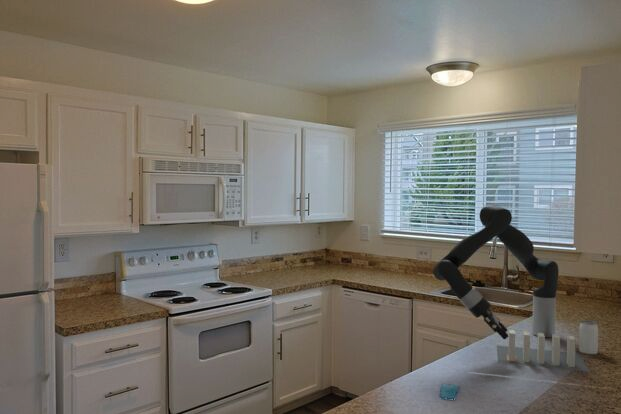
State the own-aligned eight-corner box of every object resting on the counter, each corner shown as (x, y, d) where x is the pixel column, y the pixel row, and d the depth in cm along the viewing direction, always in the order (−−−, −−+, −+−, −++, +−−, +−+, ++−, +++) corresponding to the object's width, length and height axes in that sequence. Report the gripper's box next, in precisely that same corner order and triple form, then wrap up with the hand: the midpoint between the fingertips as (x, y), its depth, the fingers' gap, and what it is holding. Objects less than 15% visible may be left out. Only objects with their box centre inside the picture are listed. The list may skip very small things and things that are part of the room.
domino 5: (566, 362, 191) (567, 335, 190) (572, 362, 190) (573, 335, 190) (568, 366, 186) (569, 338, 186) (574, 367, 185) (575, 339, 185)
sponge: (434, 396, 158) (454, 397, 155) (441, 383, 169) (459, 384, 166) (435, 401, 158) (454, 402, 155) (441, 387, 169) (460, 388, 166)
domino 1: (508, 355, 197) (508, 329, 197) (514, 356, 196) (514, 330, 196) (508, 359, 192) (509, 333, 192) (514, 360, 192) (515, 333, 191)
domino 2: (522, 357, 195) (523, 331, 195) (528, 358, 195) (529, 331, 194) (523, 361, 191) (524, 334, 190) (529, 362, 190) (530, 335, 190)
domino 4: (551, 360, 192) (552, 334, 192) (557, 361, 192) (558, 334, 191) (553, 364, 187) (554, 337, 187) (559, 365, 187) (560, 338, 187)
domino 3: (537, 359, 194) (537, 332, 194) (542, 359, 193) (543, 333, 193) (538, 363, 189) (538, 336, 189) (544, 363, 188) (544, 336, 188)
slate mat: (496, 346, 211) (496, 345, 211) (578, 354, 201) (578, 353, 201) (497, 363, 190) (497, 361, 190) (589, 373, 181) (589, 371, 181)
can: (580, 349, 209) (581, 319, 208) (598, 352, 204) (599, 322, 204) (577, 352, 204) (577, 322, 203) (595, 356, 199) (596, 325, 199)
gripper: (482, 299, 190) (515, 333, 187) (482, 292, 204) (512, 324, 200) (466, 312, 192) (499, 346, 189) (468, 304, 206) (498, 336, 202)
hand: (506, 334), depth 195 cm, fingers open, 8 cm apart
